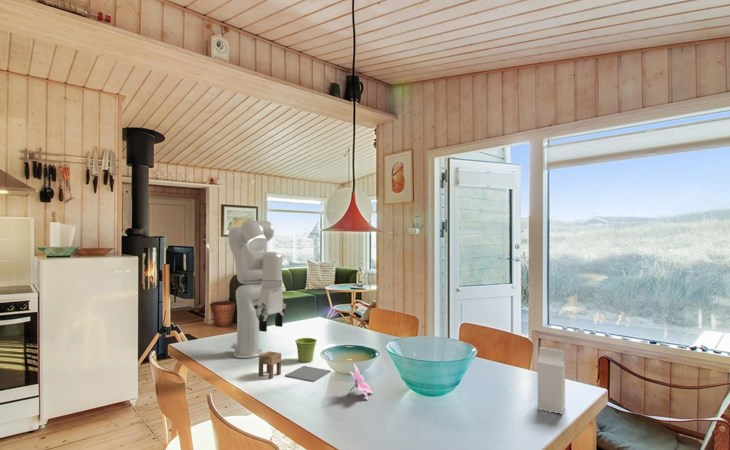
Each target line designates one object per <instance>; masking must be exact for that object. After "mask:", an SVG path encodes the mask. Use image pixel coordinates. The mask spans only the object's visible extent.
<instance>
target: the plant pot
mask: <svg viewBox="0 0 730 450" xmlns="http://www.w3.org/2000/svg"><path fill="white" fill-rule="evenodd" d="M294 342H295V344H296V345H295V346H296V348H297V350H296V351H297V360H298V362H301V363H312V361H313V359H314V353H315V347H316V343H317V342H318V340H317V339H316V338H311V337H301V338H296V339H295V341H294Z"/></svg>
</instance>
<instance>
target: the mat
mask: <svg viewBox="0 0 730 450" xmlns="http://www.w3.org/2000/svg"><path fill="white" fill-rule="evenodd" d="M330 373H332V370H330V369H324V368H319V367H313V366H307V365H302V366H300V367H298V368H296V369H295V370H292V371H290V372H288V373H286V374H285V375H284V377H285V378H292V379H297V380H303V381H307V382H312V383H313V382H316V381H318V380H319V379H321V378H323V377H325V376H326V375H328V374H330Z"/></svg>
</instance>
